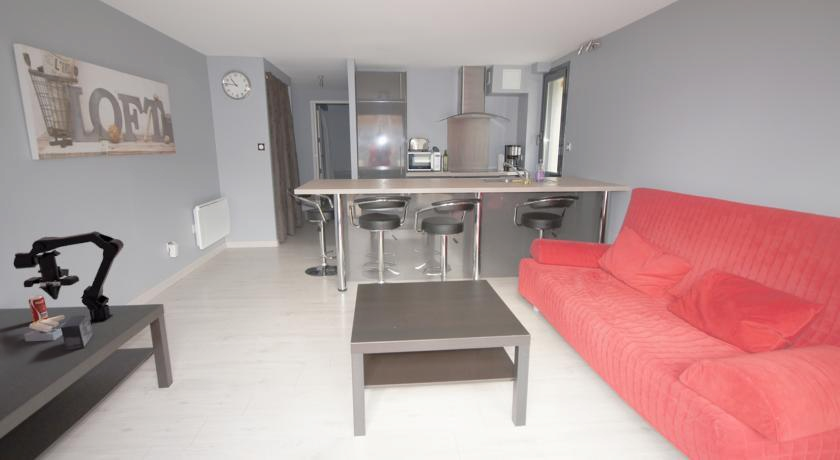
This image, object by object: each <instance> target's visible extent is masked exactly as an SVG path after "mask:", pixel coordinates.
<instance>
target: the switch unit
mask: <svg viewBox="0 0 840 460" xmlns="http://www.w3.org/2000/svg"><path fill="white" fill-rule="evenodd" d="M58 322H59V325H58V326H56V327H55V328H52V330H51V331H49V332H48V333H47V332H43V331H40V330H36V329H32V330H30V331H28V332H27V333H25V334H23V336H24V340H25V342H39V341H40V342H41V341H55V340H57V339H58V338H60V337H61V336H63V335H62V331H61V327H62V326H63V325H64V324H65V323H66V322H67V321H58Z"/></svg>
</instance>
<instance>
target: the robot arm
mask: <svg viewBox="0 0 840 460" xmlns="http://www.w3.org/2000/svg"><path fill="white" fill-rule="evenodd" d="M86 243H93V244H94V245H95V246H96V247H98V248H99V249H100V250H102V259H101V262H100V265H99V267H98V269H97V271H96V274H95V277H94V279H93V281H92V283H91V285H87V287H86V288H85V289H84V290H83V293H82V296H80V299H81V303H82V304H83V305H84V306H86V308H87V309H88V310H89V311H88V312H89V317H90V322H92V323H93V322H94V323H95V322H105V321H107V320H108V319H110V318H111V317H112V316H113V315H114V314H112V313H111V311H110V306H109V304H107V303H109V300H110V298H109V297H107V296H105V295H104V294H103V293H104V284H105V282H106V280H107V278H108V275H109V273H110V270H111V268H112V265H113V263H114V261H115V259H116V258H117V257H118V255H119V254H120V253H121V251H122V249H124V245H125V244H124V243H123V241H122V240H121V239H117V238H114V237H112V236H110V235H107V234H103V233H101V232H99V231H91V232H87V233H80V234H74V235H68V236H61V237H60V236H59V237H58V236H44V237H41V238H39V239H37V240H35V241H33V243H32V244H31V245H32V246H31V250H30V251H29V252H17V253H15V254H14V259H13V266H14V268H15V269H17V270H21V269H33V268H36V267H37V266H38V267H39V269H38V270H37V273H38V274H40V275H41V276H32V277H30V278H28V279H25V280H24V281H23V283H22V284H23V287H24V288H32V287H33V286H34V285H39V287H38V288H39V289H41V290H43V291H44V292H45V293H46V294H47V295H48V296H49V297H51V299H53V301H55V300H59V299H58V298H59V294H60V291H61V288H62V287H64V286H65V287H66V286H67V287H68V286H73V285H75V284H76V283H78V282H80V278H79V276H78V275H69V274H70V273H69V272H70V268H61V266H60V265H58V264H57V260H56V257H58V256H60V255H61V252H60V251H58V250H56V249H60V248H62V247H68V246H69V247H70V246H74V245H81V244H86Z"/></svg>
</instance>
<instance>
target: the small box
mask: <svg viewBox="0 0 840 460" xmlns="http://www.w3.org/2000/svg"><path fill="white" fill-rule="evenodd" d="M90 320H91V317H90V313H89V314H81V315H80V314H79V315H73V316H70V317H69V319H67V320H66V321H65V322H66V323H65V324H64V325H63V326H62V327H61V331H62V335H61V336H62V338H63V343H64V347H65V351H67V350H68V351H72V350H73V351H74V350H79V349H84V348H86V347H87V345H88V344H89V343H90V341H92V339H93V338H94V336H95V335H94V331H93V327H92V324H91V322H90Z"/></svg>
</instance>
